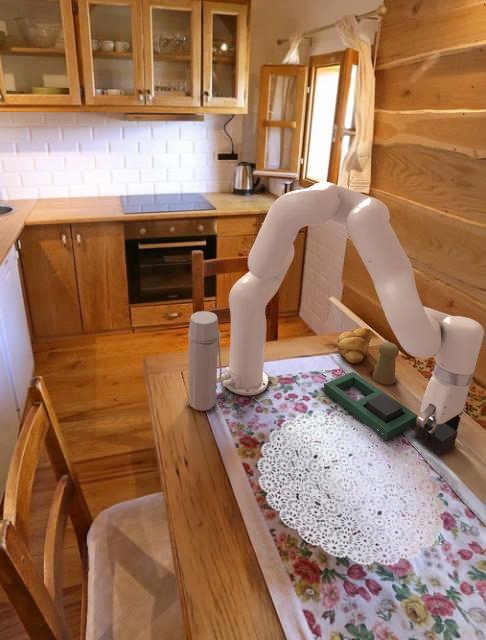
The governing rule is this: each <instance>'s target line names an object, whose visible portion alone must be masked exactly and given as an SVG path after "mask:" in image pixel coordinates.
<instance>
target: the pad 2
mask: <svg viewBox="0 0 486 640" xmlns="http://www.w3.org/2000/svg"><path fill="white" fill-rule="evenodd" d="M431 417H432V418H434V419H435V415H432V416H431ZM433 423H434V422H433V421H432V420H430V419H428V421H427V424H428V425H429V426H430V427H431V426H432V424H433ZM419 430H420V426H419V423H418V424H417V427H416V431H415V436H414V439H416V440H417V441H418V442H419V443H421V444H422V445H424V446H426V448H428V449H429V450H430V451H432V452H433V453H435V454H436V455H437V456H440V455H442V454H444V453H445V452H447V451H448V450H450V449H451V448H452V447H454V446H455V445H456V440H457V437H458V433H459V431H458V430H457V431H456V430H454V429H453V428H451V427H450V426H448V425H447V424H445V423H443V424H438V425H437V427H436V429H435V430H434V433H435V436H434V441H433V445H432V447H428V446H427V445H425V444H424V443H422V442H421V441H420V440H418V434H419Z"/></svg>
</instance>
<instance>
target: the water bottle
mask: <svg viewBox="0 0 486 640" xmlns="http://www.w3.org/2000/svg"><path fill="white" fill-rule="evenodd" d="M187 335H188V403H189V406H190V407H191V408H192V409H194V410H196V411H200V412H203V411H210V410H211V409H212V408H213V407H215V405H216V402H217V385H218V384H219V383H218V382H220V381H221V376H222V374H223V371H222V370H223V369H222V358H221V348H220V347H221V346H220V339H221V335H222V334H221V331H220V329H219V317H218V316H217V314H216V313H214V312H211V311H207V310H201V311H196V312H193V313H192V314H191V316H190V319H189V328H188V333H187ZM218 366H219V374H218ZM218 375H219V380H218V381H217V376H218ZM220 383H221V382H220Z"/></svg>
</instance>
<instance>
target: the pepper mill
mask: <svg viewBox="0 0 486 640" xmlns="http://www.w3.org/2000/svg"><path fill="white" fill-rule="evenodd" d="M378 353H379V355H378V358H377V362H376V364H375V367H374V369H373V373H372V379H374V381H376V382H377V383H380V384H382V385H393V384H395V382H396V361H397V357H398V356H399V354H400V349H399V347H398V346H397V345H396V344H395V343H394V342H389V341H384V342H382V343H380V344H379V347H378Z"/></svg>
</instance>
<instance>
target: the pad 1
mask: <svg viewBox="0 0 486 640" xmlns="http://www.w3.org/2000/svg"><path fill="white" fill-rule="evenodd" d="M365 408H366V409H367V410H369V411H370V412H371V413H373V414H374V415H375V416H377V417H378V418H379V419H381V420H382V421H383V422H385V423H386V424H387V423H389V422H390V421H392V420H394V419H396V418H398V417H400V416H401V412H402V408H403V407H401V406H400V405H398V404H397V403H395V402H394V401H392V400H391V399H389V398H388V397H387V396H385V395H384V394H380V395H378V396H376V397H374V398H372V399H370V400H368V401H367V402H366V407H365Z"/></svg>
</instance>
